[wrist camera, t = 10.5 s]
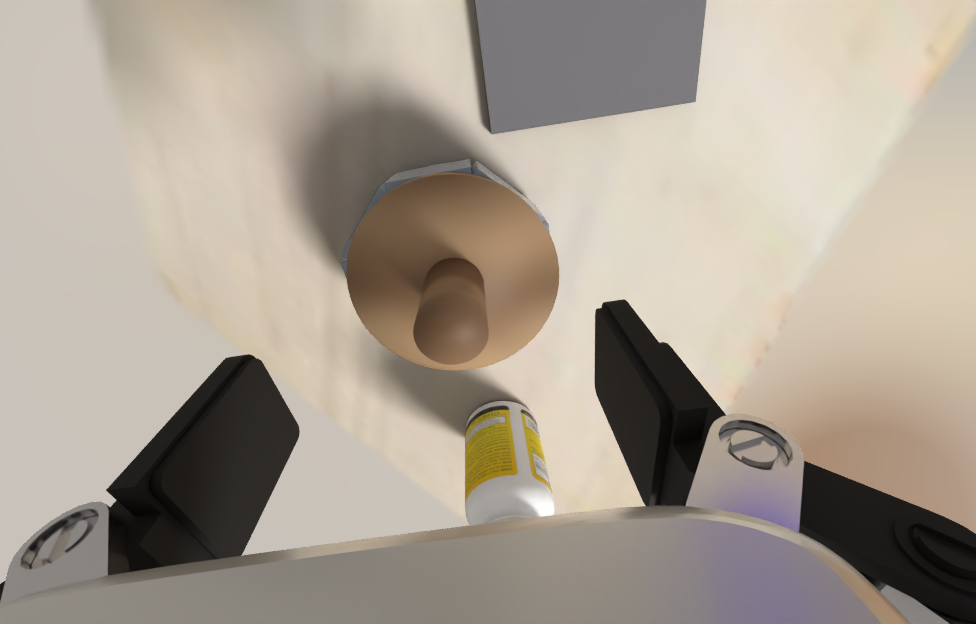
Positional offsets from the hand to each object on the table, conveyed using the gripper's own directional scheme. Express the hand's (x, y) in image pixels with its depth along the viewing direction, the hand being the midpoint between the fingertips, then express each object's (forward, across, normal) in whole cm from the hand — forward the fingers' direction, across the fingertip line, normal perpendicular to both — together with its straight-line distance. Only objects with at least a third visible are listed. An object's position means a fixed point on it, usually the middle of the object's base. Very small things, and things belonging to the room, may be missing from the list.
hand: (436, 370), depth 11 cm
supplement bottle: (+12, -1, +15) cm, 19 cm away
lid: (+8, 0, +1) cm, 9 cm away
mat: (+13, -8, -10) cm, 18 cm away
